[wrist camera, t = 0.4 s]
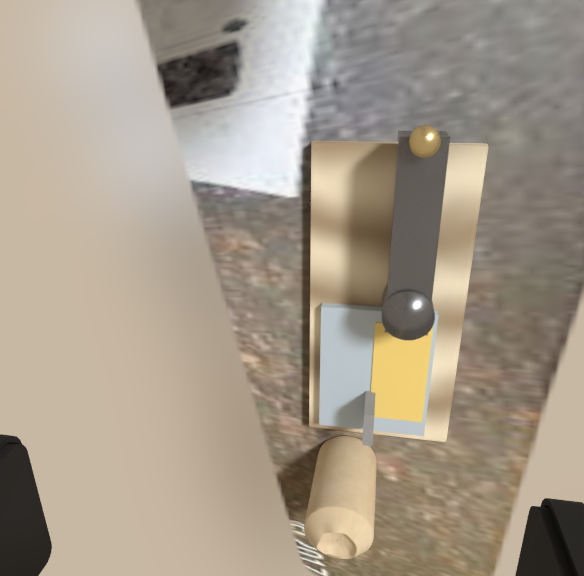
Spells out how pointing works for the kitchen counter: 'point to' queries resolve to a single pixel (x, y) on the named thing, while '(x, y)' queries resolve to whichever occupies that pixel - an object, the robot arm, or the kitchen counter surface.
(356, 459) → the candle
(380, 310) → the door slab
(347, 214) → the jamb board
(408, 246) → the latch bar
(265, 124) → the kitchen counter surface
